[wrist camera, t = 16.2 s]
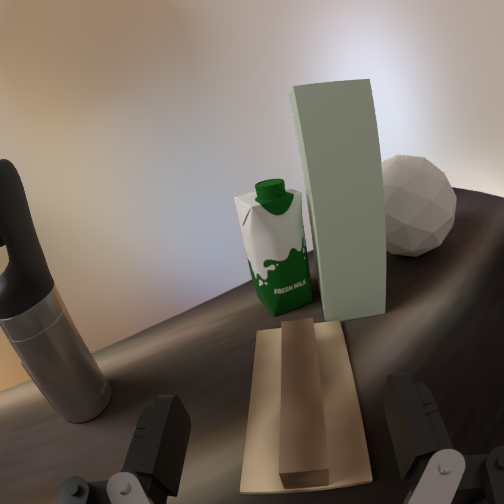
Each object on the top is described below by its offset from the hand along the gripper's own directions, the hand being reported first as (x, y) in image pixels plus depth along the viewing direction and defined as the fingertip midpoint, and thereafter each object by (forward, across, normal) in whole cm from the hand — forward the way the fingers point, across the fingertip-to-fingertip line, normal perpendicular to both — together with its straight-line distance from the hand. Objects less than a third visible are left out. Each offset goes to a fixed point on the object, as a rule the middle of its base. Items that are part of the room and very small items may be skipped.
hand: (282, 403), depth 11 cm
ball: (+47, -25, +21) cm, 57 cm away
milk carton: (+37, +1, +21) cm, 42 cm away
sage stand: (+35, -9, +20) cm, 41 cm away
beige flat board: (+16, 0, +20) cm, 25 cm away
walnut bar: (+14, 0, +19) cm, 24 cm away
